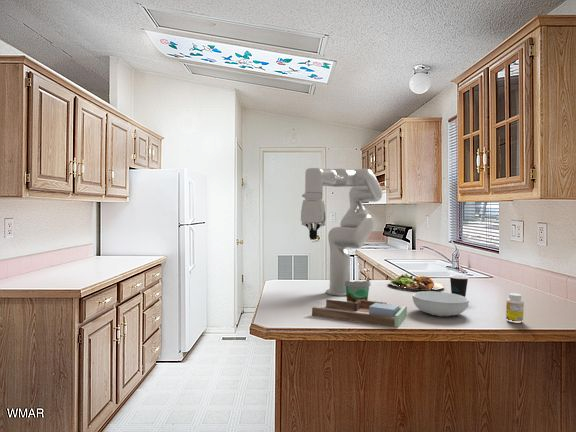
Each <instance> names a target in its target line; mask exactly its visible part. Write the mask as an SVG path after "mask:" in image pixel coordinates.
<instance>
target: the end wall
mask: <svg viewBox="0 0 576 432" xmlns="http://www.w3.org/2000/svg"><path fill="white" fill-rule="evenodd" d="M400 308H401V309H400V310H399V311H398V312H397V314H396V315H395V328H399V327H400V326H401V324H402V323H403V322H404V320H405V319H406V318H407V317H408V316H407V313H408V306H407V305H403V306H402V307H400ZM406 316H407V317H406ZM405 317H406V318H405ZM404 318H405V319H404ZM402 321H403V322H402ZM401 322H402V323H401Z"/></svg>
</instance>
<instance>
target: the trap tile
mask: <svg viewBox="0 0 576 432" xmlns="http://www.w3.org/2000/svg"><path fill="white" fill-rule="evenodd" d="M363 311H365V313H369V308H360V309H359V310H357V312H363Z"/></svg>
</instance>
